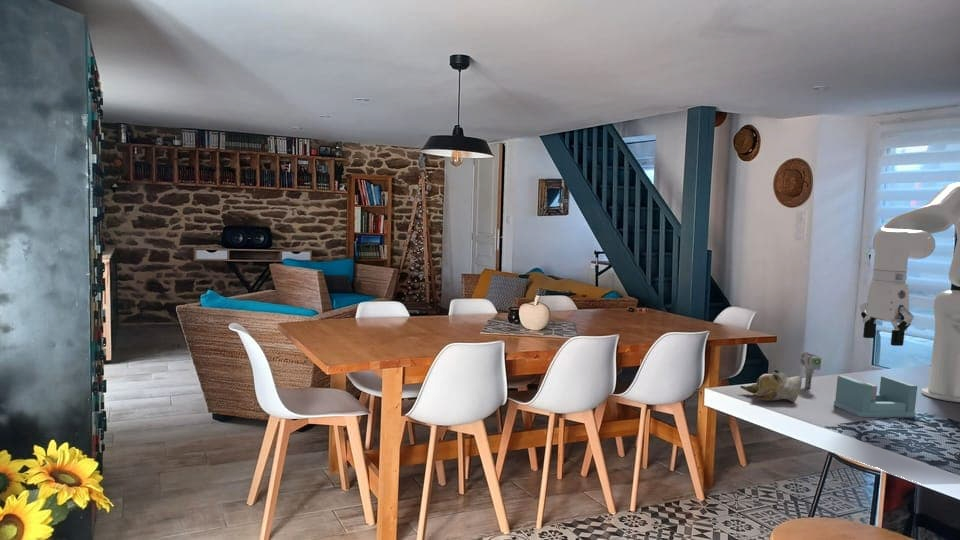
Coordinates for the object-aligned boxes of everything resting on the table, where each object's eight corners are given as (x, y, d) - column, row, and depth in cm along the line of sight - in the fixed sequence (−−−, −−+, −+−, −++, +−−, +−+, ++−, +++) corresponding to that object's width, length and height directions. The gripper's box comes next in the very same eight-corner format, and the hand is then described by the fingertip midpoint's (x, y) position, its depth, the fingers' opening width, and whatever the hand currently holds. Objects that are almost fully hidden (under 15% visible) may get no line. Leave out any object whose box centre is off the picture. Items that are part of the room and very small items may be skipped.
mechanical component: (806, 383, 205) (809, 351, 205) (819, 392, 195) (823, 358, 194) (796, 383, 206) (799, 350, 205) (809, 391, 196) (812, 358, 195)
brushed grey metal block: (865, 404, 180) (867, 382, 179) (874, 408, 176) (877, 386, 176) (853, 404, 179) (855, 382, 179) (862, 408, 176) (865, 386, 175)
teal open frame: (885, 405, 185) (889, 376, 184) (914, 416, 175) (918, 386, 174) (833, 405, 182) (836, 375, 181) (860, 416, 172) (863, 385, 171)
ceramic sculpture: (811, 374, 178) (753, 374, 179) (810, 406, 179) (753, 406, 179) (793, 365, 189) (739, 365, 189) (792, 396, 190) (738, 395, 190)
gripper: (928, 281, 168) (921, 348, 170) (877, 274, 185) (870, 335, 187) (902, 280, 167) (895, 348, 169) (852, 273, 184) (846, 335, 186)
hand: (882, 341), depth 178 cm, fingers open, 9 cm apart
